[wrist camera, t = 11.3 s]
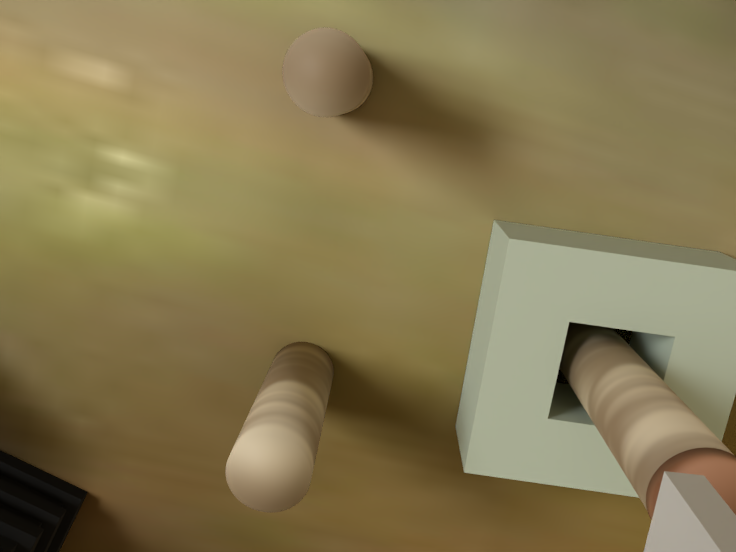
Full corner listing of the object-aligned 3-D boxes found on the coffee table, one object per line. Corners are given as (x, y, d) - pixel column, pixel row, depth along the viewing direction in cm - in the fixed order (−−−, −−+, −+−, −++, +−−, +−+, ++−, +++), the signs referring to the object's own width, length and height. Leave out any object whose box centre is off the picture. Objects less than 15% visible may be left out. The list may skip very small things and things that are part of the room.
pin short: (308, 36, 34) (287, 21, 28) (378, 46, 34) (374, 34, 28) (300, 108, 35) (278, 110, 29) (368, 118, 35) (362, 122, 29)
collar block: (493, 219, 36) (509, 238, 32) (720, 252, 36) (770, 275, 32) (455, 426, 39) (464, 472, 35) (664, 456, 39) (702, 506, 35)
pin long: (556, 307, 37) (671, 455, 22) (622, 317, 37) (784, 471, 22) (543, 369, 38) (644, 552, 23) (607, 378, 38) (752, 568, 23)
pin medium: (275, 337, 38) (229, 429, 28) (337, 346, 38) (315, 441, 28) (268, 395, 39) (222, 505, 29) (329, 404, 39) (305, 518, 29)
